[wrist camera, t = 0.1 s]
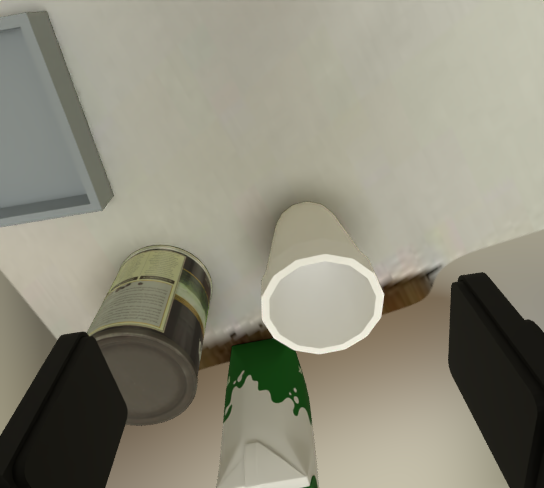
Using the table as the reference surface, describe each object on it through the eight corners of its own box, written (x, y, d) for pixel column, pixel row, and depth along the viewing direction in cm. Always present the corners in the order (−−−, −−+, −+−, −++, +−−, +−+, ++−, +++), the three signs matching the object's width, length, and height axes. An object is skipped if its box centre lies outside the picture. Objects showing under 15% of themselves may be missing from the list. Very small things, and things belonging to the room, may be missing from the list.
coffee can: (230, 272, 47) (220, 368, 35) (185, 335, 51) (161, 441, 39) (142, 226, 44) (97, 313, 32) (101, 296, 48) (47, 397, 36)
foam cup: (371, 223, 45) (409, 298, 33) (312, 283, 48) (328, 370, 37) (299, 168, 42) (314, 231, 30) (242, 237, 45) (236, 316, 34)
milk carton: (309, 380, 55) (332, 555, 38) (239, 392, 56) (230, 570, 38) (296, 327, 51) (315, 496, 34) (221, 341, 52) (201, 514, 34)
